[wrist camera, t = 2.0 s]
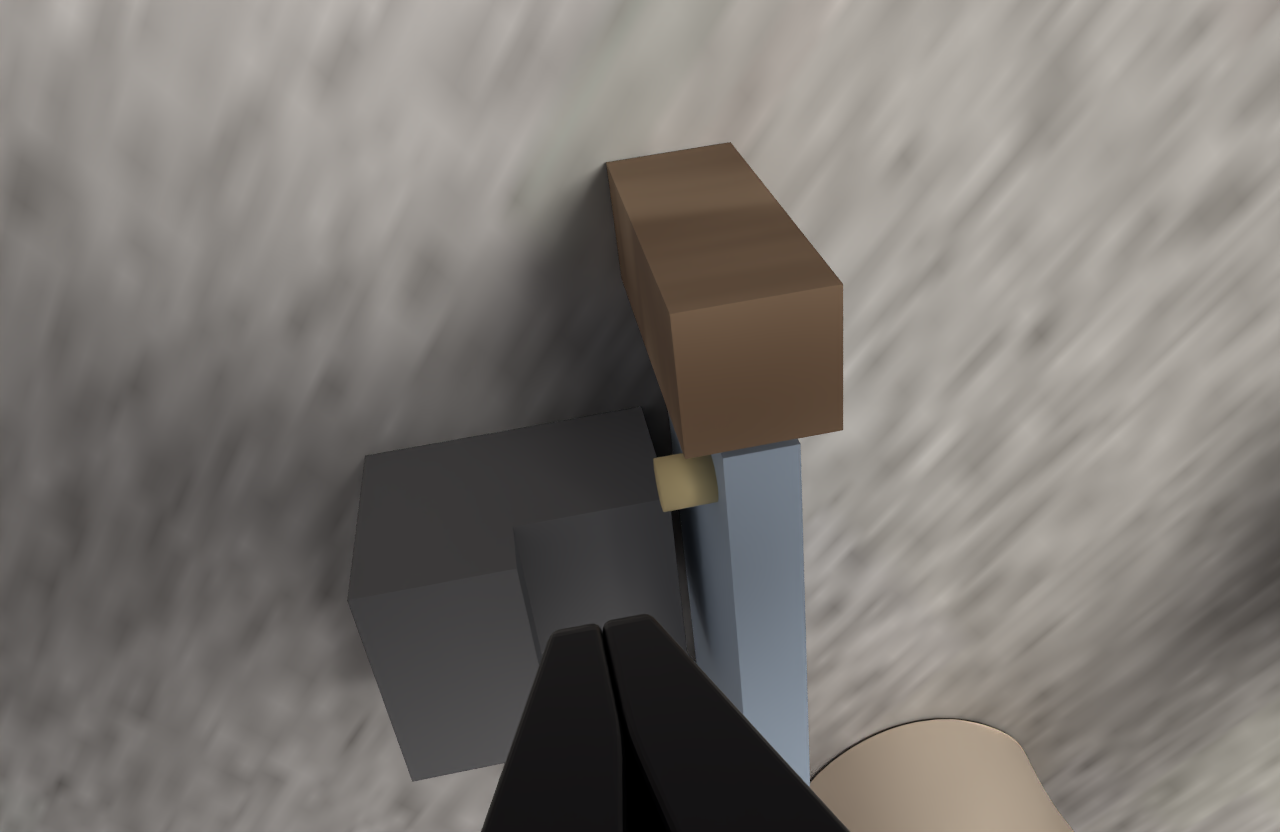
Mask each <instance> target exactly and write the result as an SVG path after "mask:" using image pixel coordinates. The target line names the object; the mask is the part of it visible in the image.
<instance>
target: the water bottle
mask: <svg viewBox="0 0 1280 832" xmlns="http://www.w3.org/2000/svg"><path fill="white" fill-rule="evenodd" d="M810 788H811V789H812V790H813V791H814V793H815V794H816V795H817V796H818V797H819V798H820V799H821V800H822V801H823V802H824V803H825V805H826V806H827V807H828V808H829V809H830V810H831V811H832V812H833V813H834V814H835V816H836V817H837V818H838V819H839V820H840V821H841V822H842V823H843V824H844V825H845V826H846V828H847V829H848V830H849V831H850V832H1074V831H1073V830H1072V828H1071V827H1070V826H1069V824H1068V823H1067V822H1066V821H1065V819H1064V818H1063V817H1062V816H1061V814H1060V813H1059V812H1058V810H1057V809H1056V808H1055V806H1054V805H1053V803H1052V801H1051V800H1050V798H1049V796H1048V795H1047V793H1046V791H1045V790H1044V788H1043V786H1042V785H1041V783H1040V781H1039V779H1038V777H1037V775H1036V773H1035V771H1034V769H1033V768H1032V766H1031V764H1030V762H1029V760H1028V758H1027V756H1026V754H1025V752H1024V750H1023V748H1022V747H1021V746H1020V745H1019V743H1018V742H1017V741H1016V740H1014V739H1013V738H1012V737H1011V736H1009V735H1007V734H1006V733H1004V732H1002V731H1000V730H997V729H995V728H992V727H989V726H986V725H983V724H979V723H975V722H970V721H964V720H955V719H936V720H926V721H919V722H914V723H909V724H905V725H902V726H898V727H895V728H892V729H889V730H886V731H884V732H881V733H879V734H877V735H875V736H873V737H871V738H868V739H866V740H864V741H863V742H861V743H859V744H857V745H856V746H854V747H852V748H851V749H849V750H848V751H846V752H844V753H843V754H842V755H840V756H839V757H837V758H836V759H835V760H833V761H832V762H831V763H830V764H829V765H827V766H826V767H825V768H824V769H823V770H822V771H821V772H820V773H819V774H818V775H817V776H816V777H815V778H814V779H813V780H812V781H811V782H810Z"/></svg>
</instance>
